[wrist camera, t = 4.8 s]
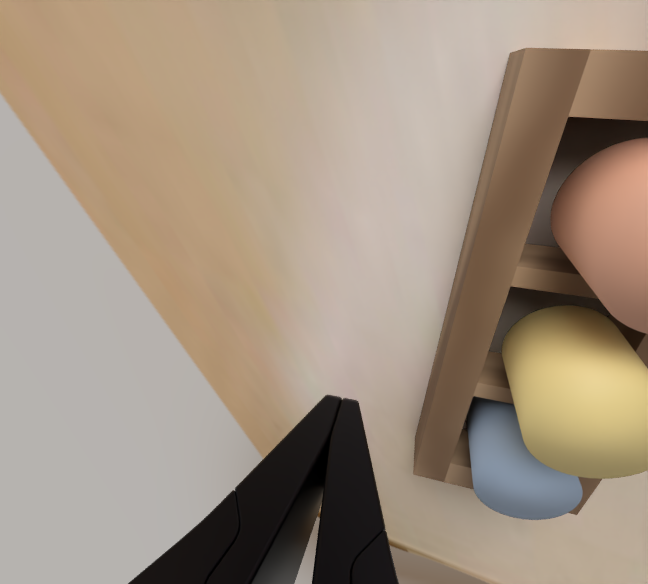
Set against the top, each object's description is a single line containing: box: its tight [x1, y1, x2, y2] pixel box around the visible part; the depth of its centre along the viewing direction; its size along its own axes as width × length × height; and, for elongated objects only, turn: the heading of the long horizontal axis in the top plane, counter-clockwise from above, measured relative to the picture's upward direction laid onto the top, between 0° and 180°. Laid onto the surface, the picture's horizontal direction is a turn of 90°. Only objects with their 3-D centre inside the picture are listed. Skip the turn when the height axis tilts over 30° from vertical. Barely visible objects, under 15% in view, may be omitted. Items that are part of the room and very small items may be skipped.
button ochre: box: [502, 305, 648, 479], centre depth 16 cm, size 5×5×5 cm
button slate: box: [466, 396, 583, 520], centre depth 21 cm, size 5×5×5 cm
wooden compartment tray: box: [413, 48, 648, 515], centre depth 19 cm, size 10×24×3 cm, turn 178°
